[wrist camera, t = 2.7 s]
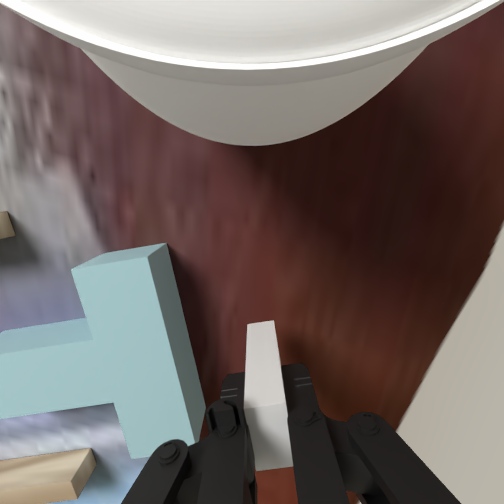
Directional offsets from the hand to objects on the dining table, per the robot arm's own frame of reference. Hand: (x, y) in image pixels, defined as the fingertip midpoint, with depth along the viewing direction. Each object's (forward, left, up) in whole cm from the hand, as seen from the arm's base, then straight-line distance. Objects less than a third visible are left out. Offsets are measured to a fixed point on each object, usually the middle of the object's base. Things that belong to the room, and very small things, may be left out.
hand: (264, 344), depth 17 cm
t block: (0, -11, -3) cm, 11 cm away
